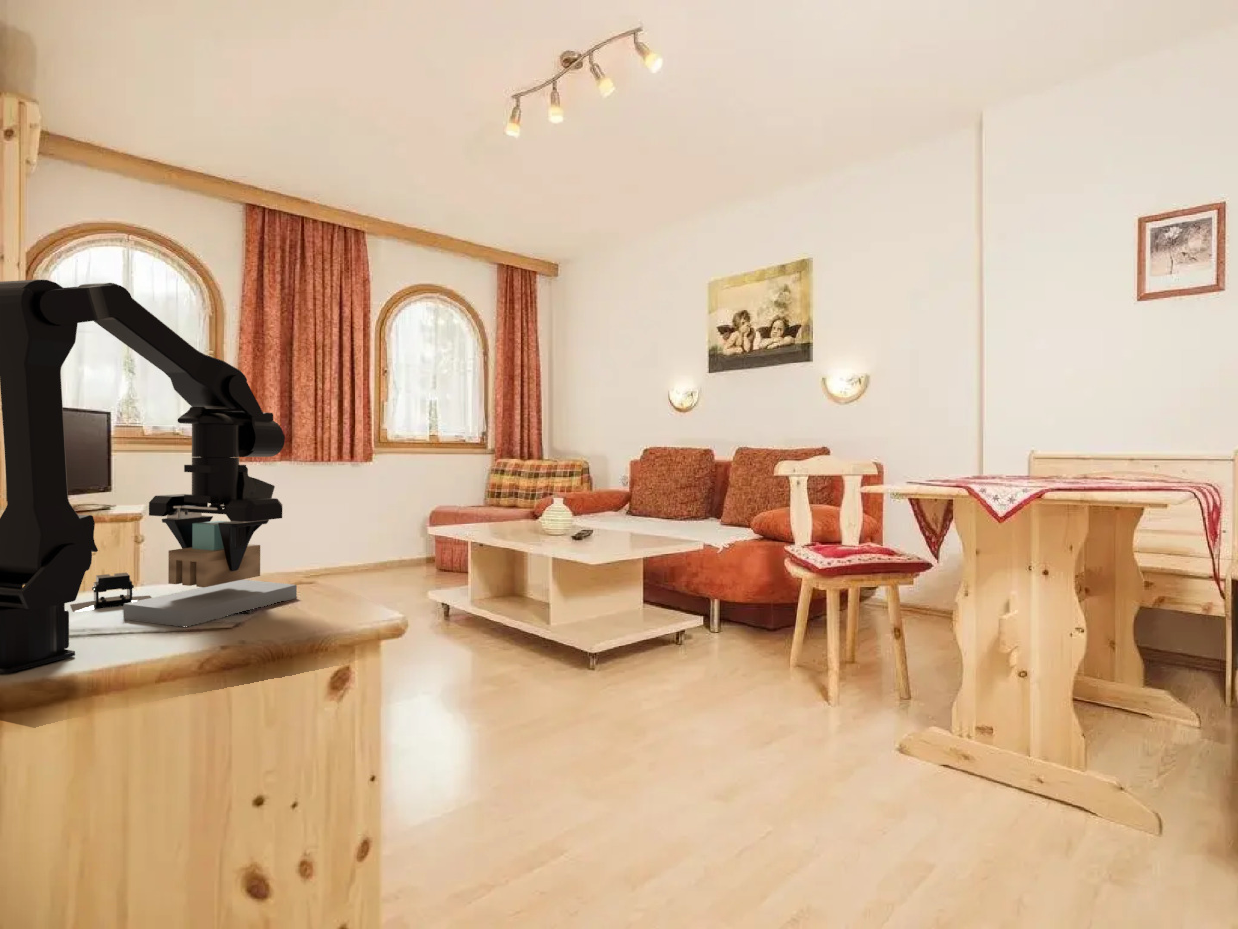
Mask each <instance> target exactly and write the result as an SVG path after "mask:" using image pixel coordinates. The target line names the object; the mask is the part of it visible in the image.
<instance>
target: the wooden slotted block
mask: <svg viewBox="0 0 1238 929" xmlns="http://www.w3.org/2000/svg"><path fill="white" fill-rule="evenodd" d="M167 568H168V573H167V574H168V582H167V583H168V584H170V585H182V586H187V587H190V586H196V588H201V587H209V586H214V585H219V584H223V583H228V582H233V581H238V580H243V579H244V580H249V579H252V578H257V577H260V576H261V544H252V543H248V546H247V548H246V551H245V554H244V556H243V559H242V561H241V564H240V567H239V569H238V570H236V571H230V570H229V567H228V564H227V560H226V556H225V551H224V549H221V550H203V549H192V547H190V548H183V549H182V548H178V549H177V548H176V549H170V550H168V567H167Z"/></svg>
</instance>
